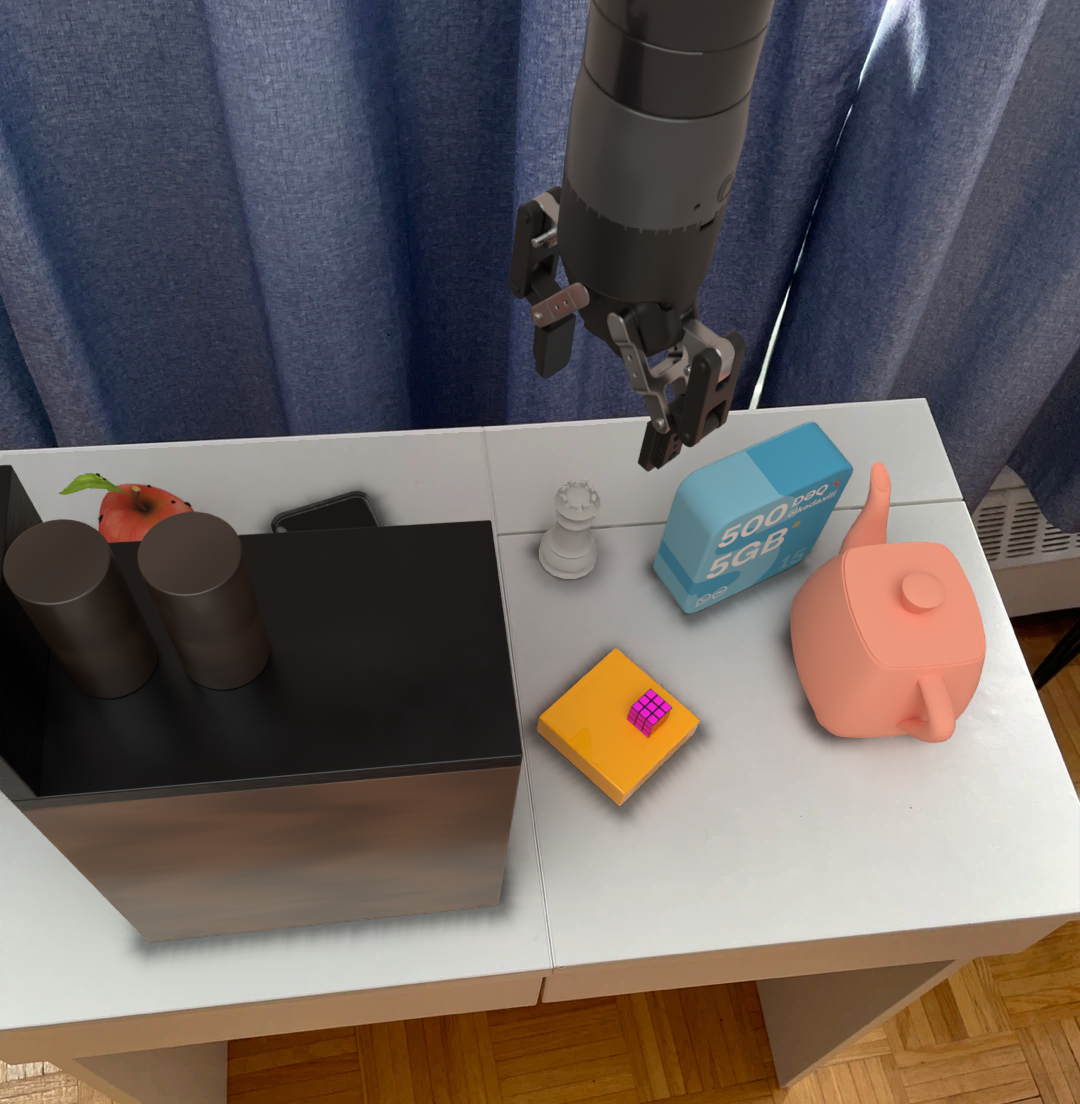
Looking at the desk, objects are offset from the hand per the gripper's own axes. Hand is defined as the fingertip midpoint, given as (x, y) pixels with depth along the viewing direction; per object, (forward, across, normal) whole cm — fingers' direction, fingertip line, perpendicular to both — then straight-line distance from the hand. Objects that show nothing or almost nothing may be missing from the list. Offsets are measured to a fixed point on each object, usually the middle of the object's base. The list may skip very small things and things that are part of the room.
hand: (602, 414), depth 62 cm
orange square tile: (+21, +10, -4) cm, 24 cm away
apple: (+21, -22, -21) cm, 37 cm away
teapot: (+21, +18, +13) cm, 30 cm away
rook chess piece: (+21, -3, +3) cm, 21 cm away
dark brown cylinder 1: (-4, -2, -30) cm, 30 cm away
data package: (+21, +6, +12) cm, 25 cm away
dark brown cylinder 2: (-4, +1, -26) cm, 26 cm away
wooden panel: (+21, +2, -24) cm, 32 cm away
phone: (+21, -11, -11) cm, 26 cm away
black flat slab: (-2, +2, -24) cm, 25 cm away
